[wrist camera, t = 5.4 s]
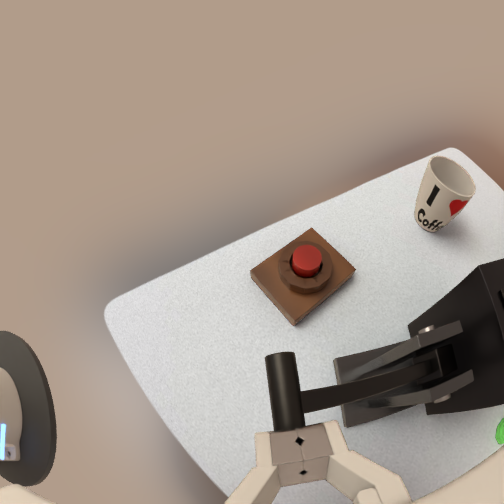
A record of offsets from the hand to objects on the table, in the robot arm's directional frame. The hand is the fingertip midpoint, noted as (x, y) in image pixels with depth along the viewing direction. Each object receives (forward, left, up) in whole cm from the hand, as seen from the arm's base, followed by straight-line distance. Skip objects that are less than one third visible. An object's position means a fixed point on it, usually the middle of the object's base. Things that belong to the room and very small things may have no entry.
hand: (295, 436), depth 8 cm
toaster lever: (+6, -2, -6) cm, 9 cm away
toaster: (+20, -10, -20) cm, 30 cm away
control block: (+13, +11, -20) cm, 26 cm away
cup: (+36, +5, -20) cm, 41 cm away
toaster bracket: (+11, -5, -20) cm, 23 cm away
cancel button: (+13, +11, -17) cm, 24 cm away
